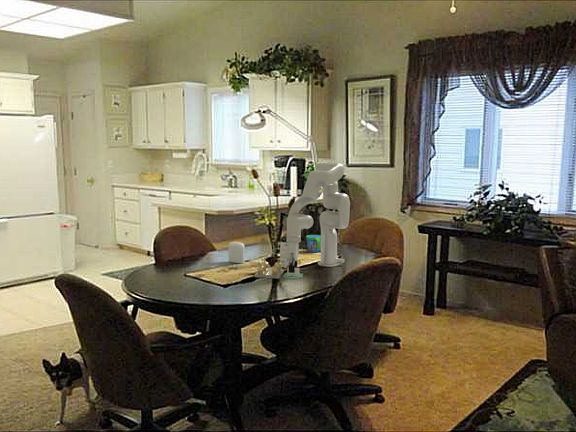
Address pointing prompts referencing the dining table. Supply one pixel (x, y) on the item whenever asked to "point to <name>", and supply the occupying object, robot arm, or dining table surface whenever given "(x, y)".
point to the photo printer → (236, 252)
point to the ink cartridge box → (284, 255)
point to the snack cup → (313, 243)
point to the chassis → (269, 270)
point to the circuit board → (293, 274)
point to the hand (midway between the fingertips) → (293, 270)
